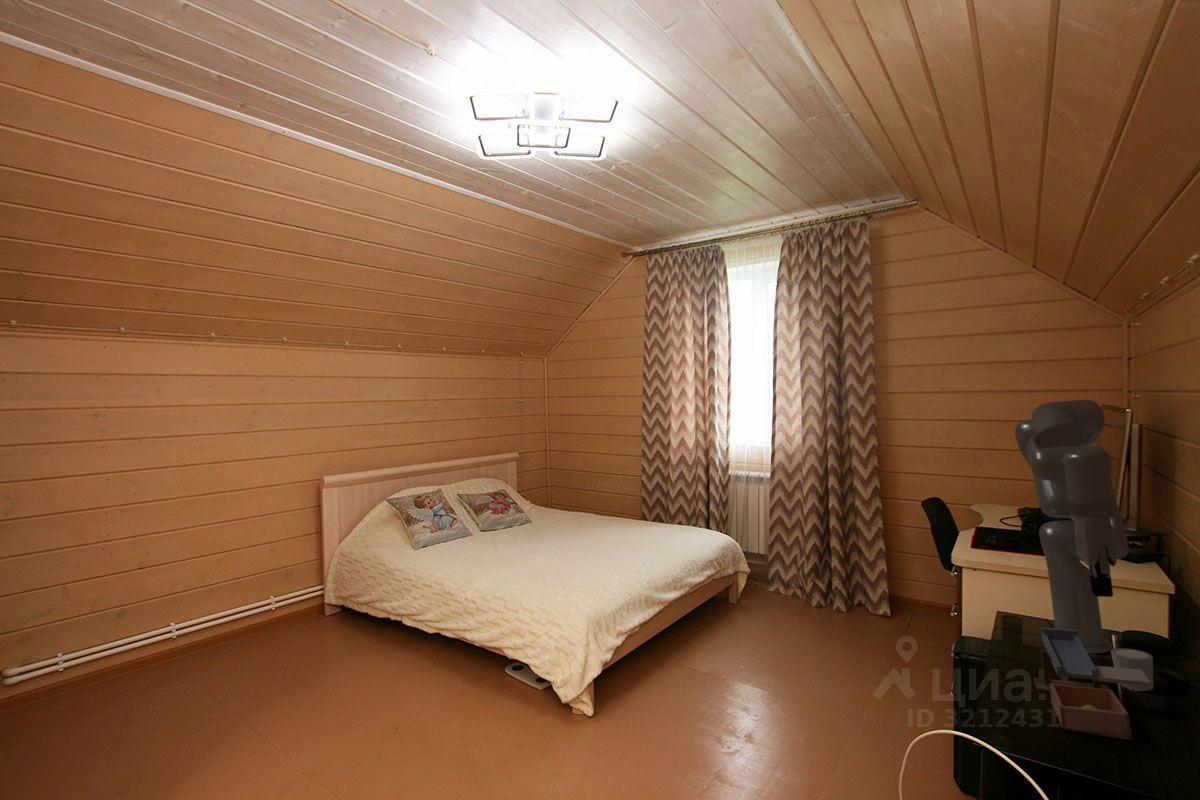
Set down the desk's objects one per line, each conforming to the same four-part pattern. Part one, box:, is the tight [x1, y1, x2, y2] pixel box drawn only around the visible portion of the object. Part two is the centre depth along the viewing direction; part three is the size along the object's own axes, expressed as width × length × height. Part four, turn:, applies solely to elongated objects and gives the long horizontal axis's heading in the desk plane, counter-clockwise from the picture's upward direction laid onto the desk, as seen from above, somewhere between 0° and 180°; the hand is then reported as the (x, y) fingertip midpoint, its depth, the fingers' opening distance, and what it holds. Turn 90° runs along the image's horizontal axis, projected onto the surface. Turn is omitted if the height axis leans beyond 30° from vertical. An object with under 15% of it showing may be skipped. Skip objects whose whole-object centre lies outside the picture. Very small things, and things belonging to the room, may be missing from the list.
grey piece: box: [1040, 627, 1151, 686], centre depth 127 cm, size 17×15×4 cm
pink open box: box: [1049, 683, 1133, 741], centre depth 115 cm, size 11×10×4 cm
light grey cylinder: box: [1110, 647, 1154, 692], centre depth 128 cm, size 7×7×7 cm
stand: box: [1032, 648, 1110, 695], centre depth 128 cm, size 6×13×8 cm, turn 61°
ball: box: [1081, 705, 1098, 710], centre depth 113 cm, size 3×3×3 cm
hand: (1102, 595), depth 125 cm, fingers closed
